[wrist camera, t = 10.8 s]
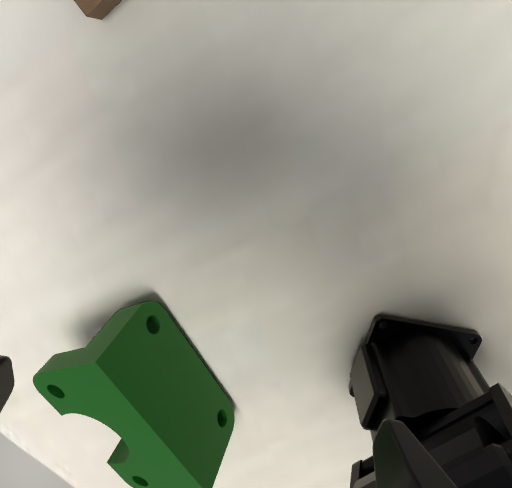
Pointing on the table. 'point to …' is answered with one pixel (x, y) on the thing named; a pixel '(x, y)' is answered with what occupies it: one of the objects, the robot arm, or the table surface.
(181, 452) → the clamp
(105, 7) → the subfloor panel
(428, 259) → the table surface
